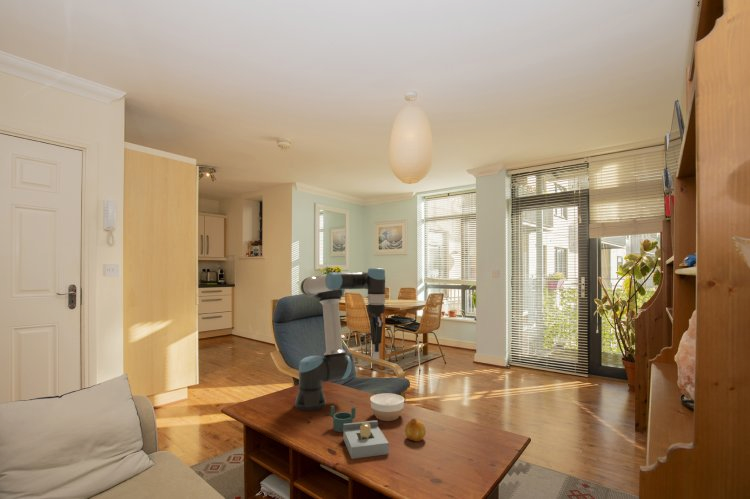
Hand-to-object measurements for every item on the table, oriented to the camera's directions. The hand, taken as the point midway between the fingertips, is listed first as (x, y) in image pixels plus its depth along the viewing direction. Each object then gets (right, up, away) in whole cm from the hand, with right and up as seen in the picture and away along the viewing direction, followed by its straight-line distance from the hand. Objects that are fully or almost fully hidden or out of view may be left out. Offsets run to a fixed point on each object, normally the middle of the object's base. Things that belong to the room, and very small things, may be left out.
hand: (375, 358), depth 161 cm
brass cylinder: (-4, -29, -17) cm, 34 cm away
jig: (-4, -29, -17) cm, 34 cm away
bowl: (+5, -30, +13) cm, 33 cm away
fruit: (+16, -29, -10) cm, 35 cm away
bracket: (-14, -30, 0) cm, 33 cm away
